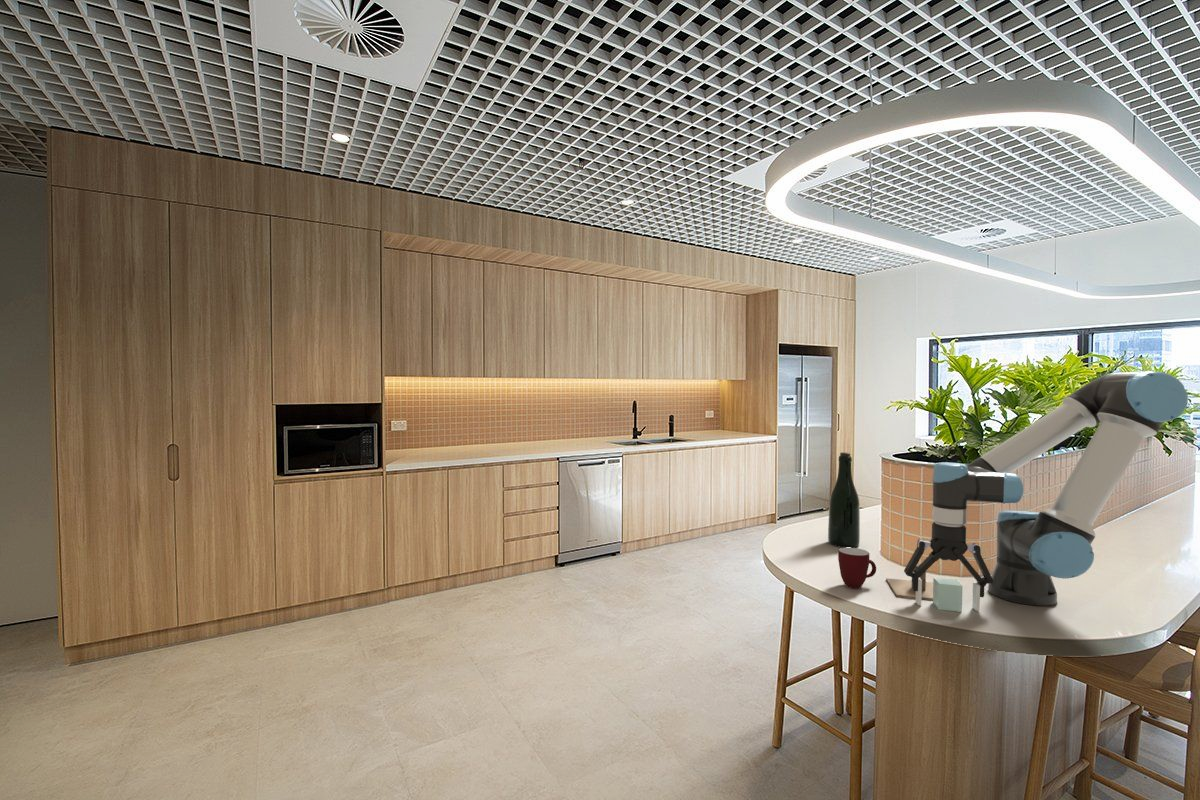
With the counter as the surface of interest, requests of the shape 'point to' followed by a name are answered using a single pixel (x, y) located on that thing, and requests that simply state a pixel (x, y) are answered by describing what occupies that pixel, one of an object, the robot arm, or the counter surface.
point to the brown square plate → (905, 587)
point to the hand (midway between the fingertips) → (946, 606)
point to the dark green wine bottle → (844, 507)
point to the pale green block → (947, 594)
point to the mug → (855, 566)
